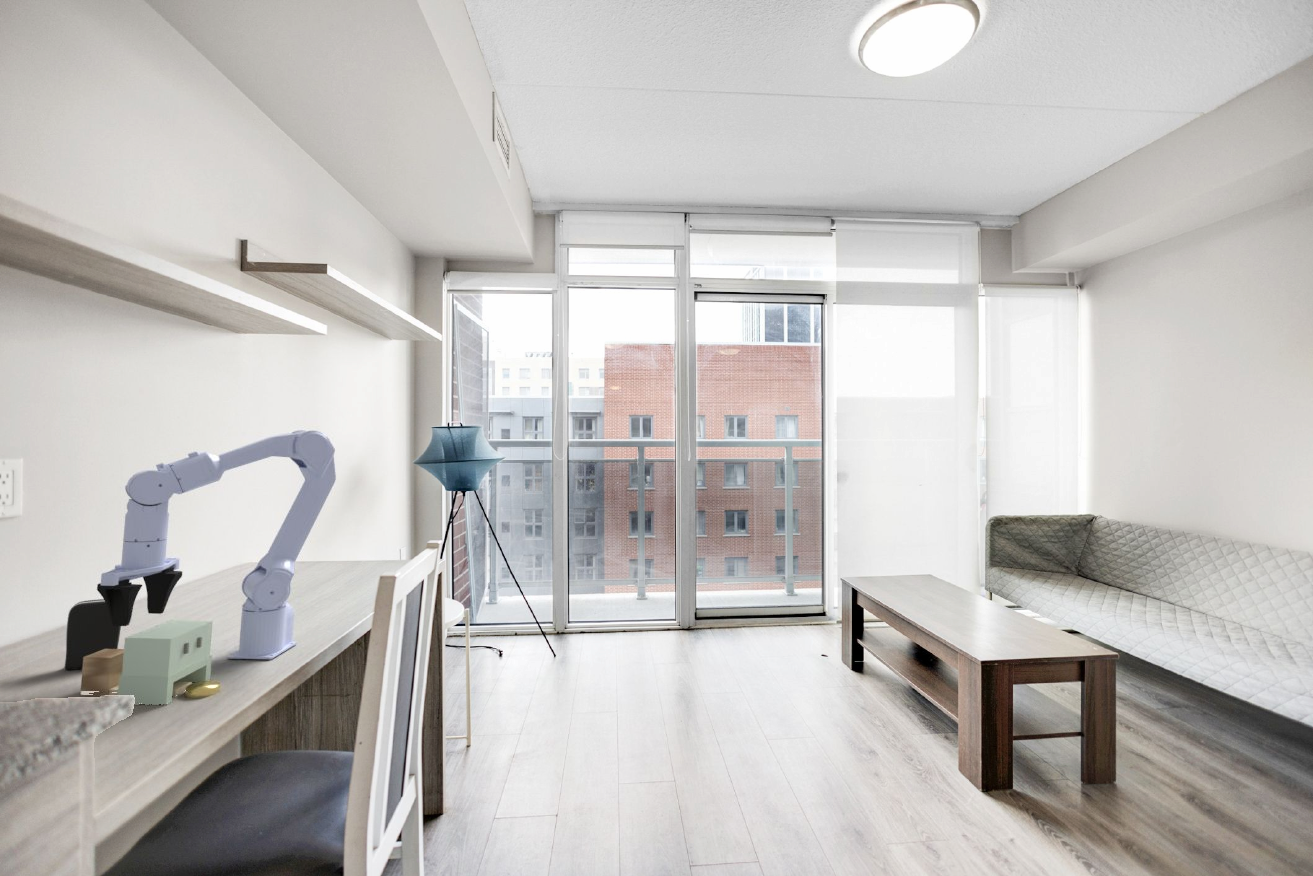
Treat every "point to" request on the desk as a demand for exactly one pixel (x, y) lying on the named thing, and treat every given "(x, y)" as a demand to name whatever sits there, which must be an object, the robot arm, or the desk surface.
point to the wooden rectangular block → (109, 673)
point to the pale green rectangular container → (165, 660)
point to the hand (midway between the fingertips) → (138, 619)
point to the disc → (202, 689)
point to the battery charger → (89, 632)
